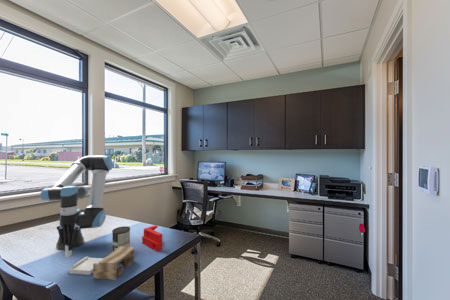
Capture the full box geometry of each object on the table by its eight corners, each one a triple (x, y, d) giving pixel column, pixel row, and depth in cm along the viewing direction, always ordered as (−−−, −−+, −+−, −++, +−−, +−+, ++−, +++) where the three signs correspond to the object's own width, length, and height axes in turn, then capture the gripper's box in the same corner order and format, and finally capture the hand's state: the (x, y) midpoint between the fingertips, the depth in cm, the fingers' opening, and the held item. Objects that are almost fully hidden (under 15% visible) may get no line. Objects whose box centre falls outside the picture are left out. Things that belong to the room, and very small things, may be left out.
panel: (68, 274, 105) (69, 267, 105) (86, 261, 117) (87, 255, 117) (89, 275, 103) (89, 268, 104) (105, 262, 115) (105, 256, 115)
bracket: (142, 229, 138) (155, 224, 146) (142, 243, 138) (155, 238, 146) (157, 235, 127) (170, 230, 135) (157, 251, 127) (170, 245, 135)
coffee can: (109, 255, 123) (109, 232, 123) (116, 247, 133) (116, 226, 133) (126, 254, 124) (126, 232, 124) (132, 246, 134) (132, 226, 134)
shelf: (93, 278, 101) (93, 262, 101) (115, 259, 118) (115, 246, 118) (115, 279, 99) (115, 263, 99) (134, 261, 116) (134, 247, 116)
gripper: (52, 215, 108) (51, 258, 108) (73, 216, 107) (73, 260, 106) (64, 211, 116) (63, 252, 115) (84, 212, 115) (84, 253, 114)
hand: (68, 255), depth 111 cm, fingers closed
